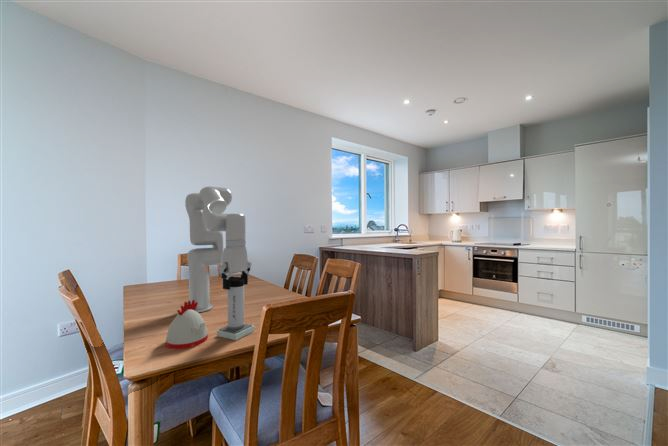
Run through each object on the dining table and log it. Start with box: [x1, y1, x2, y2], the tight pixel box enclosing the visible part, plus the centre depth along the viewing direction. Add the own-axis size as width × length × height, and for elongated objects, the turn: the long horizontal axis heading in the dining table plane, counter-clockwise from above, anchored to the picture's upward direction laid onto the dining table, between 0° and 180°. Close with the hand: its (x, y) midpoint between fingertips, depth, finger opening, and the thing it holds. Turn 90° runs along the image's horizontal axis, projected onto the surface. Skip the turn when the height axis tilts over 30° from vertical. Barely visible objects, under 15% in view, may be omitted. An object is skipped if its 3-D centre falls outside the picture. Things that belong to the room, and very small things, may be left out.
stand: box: [216, 323, 255, 341], centre depth 112 cm, size 10×10×2 cm
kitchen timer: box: [165, 300, 209, 350], centre depth 105 cm, size 14×14×15 cm
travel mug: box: [227, 276, 245, 330], centre depth 112 cm, size 6×7×20 cm
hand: (235, 286), depth 112 cm, fingers open, 9 cm apart
